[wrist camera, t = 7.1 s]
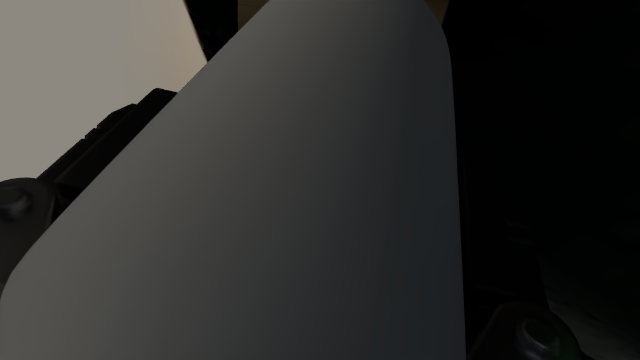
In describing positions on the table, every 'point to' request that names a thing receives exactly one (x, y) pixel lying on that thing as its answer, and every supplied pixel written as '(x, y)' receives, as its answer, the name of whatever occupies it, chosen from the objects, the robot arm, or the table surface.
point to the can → (269, 207)
